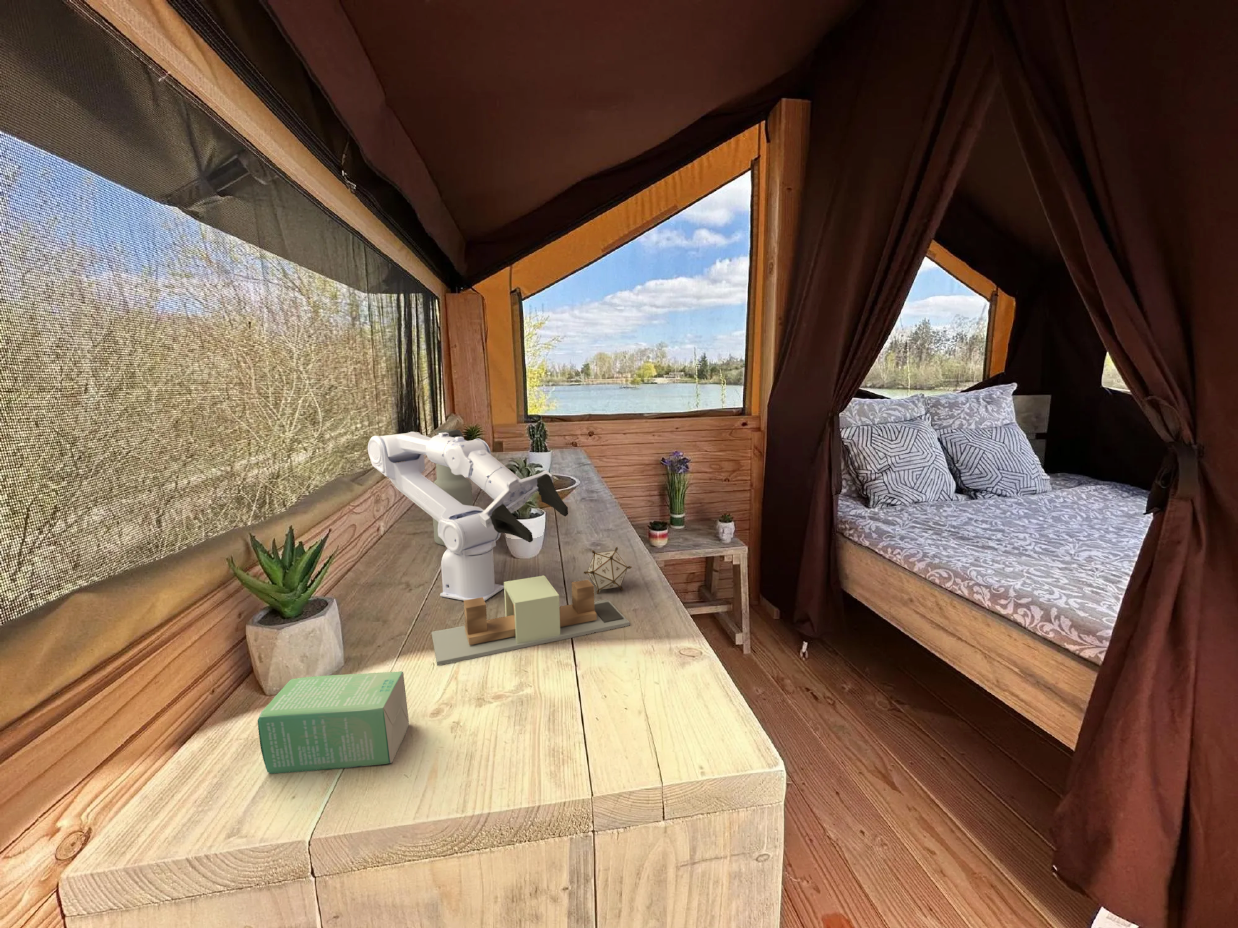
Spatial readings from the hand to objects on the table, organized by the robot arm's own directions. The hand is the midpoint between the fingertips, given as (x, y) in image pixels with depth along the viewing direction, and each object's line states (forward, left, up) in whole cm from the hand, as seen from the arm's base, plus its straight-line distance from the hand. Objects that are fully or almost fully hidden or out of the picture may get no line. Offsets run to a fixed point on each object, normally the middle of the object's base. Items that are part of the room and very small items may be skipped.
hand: (549, 524), depth 89 cm
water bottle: (-45, +31, -18) cm, 57 cm away
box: (-8, -36, -18) cm, 41 cm away
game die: (+3, +17, -18) cm, 25 cm away
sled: (-2, -3, -18) cm, 18 cm away
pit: (+7, +6, -18) cm, 20 cm away
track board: (-2, -3, -18) cm, 18 cm away
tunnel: (-2, -3, -18) cm, 18 cm away
